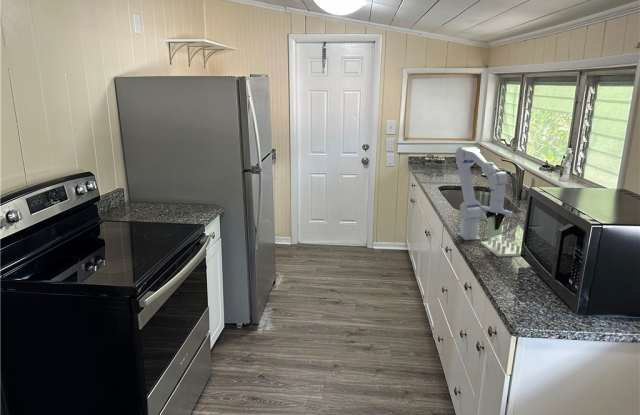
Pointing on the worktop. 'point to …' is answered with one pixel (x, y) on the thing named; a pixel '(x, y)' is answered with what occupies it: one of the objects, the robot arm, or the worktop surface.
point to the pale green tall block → (493, 228)
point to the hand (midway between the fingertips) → (494, 228)
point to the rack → (502, 247)
